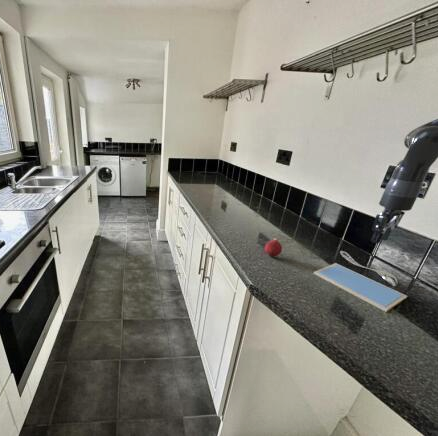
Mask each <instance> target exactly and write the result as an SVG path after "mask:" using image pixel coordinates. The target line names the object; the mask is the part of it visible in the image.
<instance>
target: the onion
mask: <svg viewBox="0 0 438 436" xmlns="http://www.w3.org/2000/svg"><path fill="white" fill-rule="evenodd" d="M282 250H283V247H282V245H281V243H280V242H279V239H278V238H274V239H273V240H269V241H267V243H266V244H265V246H264V252H265V253H266V254H267V256H269V257H271V258H273V257H277V256H279V255H281V253H282Z"/></svg>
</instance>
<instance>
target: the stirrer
mask: <svg viewBox="0 0 438 436" xmlns="http://www.w3.org/2000/svg"><path fill="white" fill-rule="evenodd" d="M339 254H340V256H341V257H342V258H344V260H346V261H348V262H349V263H351V264H352V265H354V266H356V267H359V268H363V269H366V270H370V271H372V272H375V273H377V274H378V275H379V276H380V277H382V278H383V279H384V280H385V281H386V282H387V283H388V284H390V285H391V286H392V287H397V286H398V284H399V281H398V279H397V277H396V276H395V275H394V274H392V273H390V272H388V271H384V270H377V269H374V268H370V267H366V266H364V265H361V264H360V263H359V262H357V261H356V260H355V259H354V258H353V257H352V256H351V255H350V253H348V252H346V251H343V250H340V251H339Z"/></svg>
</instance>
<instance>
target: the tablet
mask: <svg viewBox="0 0 438 436" xmlns="http://www.w3.org/2000/svg"><path fill="white" fill-rule="evenodd" d="M313 275H315V276H317V277H318V278H321V279H322V280H325V281H327V282H328V283H330V284H332V285H334V286H336V287H338V288H339V289H342V290H343V291H345V292H347V293H349V294H351V295H353V296H355V297H357V298H358V299H360V300H362V301H364V302H366V303H368V304H370V305H372V306H374V307H376V308H378V309H379V310H381V311H383V312H385V313H388V312H389V311H391V310H392V309H393V308H394V307H396V306H398V305H400V304H401V303H402V302H404V301H405V300H407V299H408V295H407V294H404V293H402V292H400V291H397V290H395V289H393V288H391V287H389V286H387V285H384V284H382V283H381V282H378V281H377V280H376V281H375V280H373V279H372V278H369V277H367V276H365V275H363V274H361V273H358V272H356V271H355V270H352V269H350V268H347V267H345V266H343V265H341V264H339V263H337V262H335V263H332V264H330V265H327V266H325V267H323V268H319V269H318V270H315V271H313Z"/></svg>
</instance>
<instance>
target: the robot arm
mask: <svg viewBox="0 0 438 436" xmlns="http://www.w3.org/2000/svg"><path fill="white" fill-rule="evenodd" d="M403 144H404V146H405V148H407V149H408V150H407V151H406V153H405V156H404V158H402V159H401V160H399V161H398V162H397V164H396V166H395V168H394V170H393V172H392V175H391V177H390V179H389V180H388V183H387V184H386V186H385V189H384V191H383V193H382V196H381V198H380V200H379V202H378V205H379V206H381V207H383V208H384V209H383V210H382V211H381V212H380V213H379V214H376V215H375V217H374V222H373V225H372V227H371V228H372V229H371V230H372V231H373V234H372V236H371V239H370V242H372V243H375V244H379V243H381V241H382V240H383V241H387V240H389V238H390V235H391V233H392V231H394V230H395V229H396V228H397V227H398V225H399V224H400V222H401V221H402V219H403V217H404V215H405V214H406V212H409V211H411V210H412V209H413V206H414V204H415V202H416V201H417V198H418V197H419V195H420V193H421V190H422V188H423V184H424V181H425V179H426V178H427V175H428V173H429V171H430V168H431V166H432V165H434V163H435V162H436V161H437V160H438V118H437V119H434V120H431V121H428V122H427V123H424V124H422V125H420V126H417V127H416V128H414V129H412V130H411V131H409V132H408V133H407V134H406V136H405V137H404V140H403Z"/></svg>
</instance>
